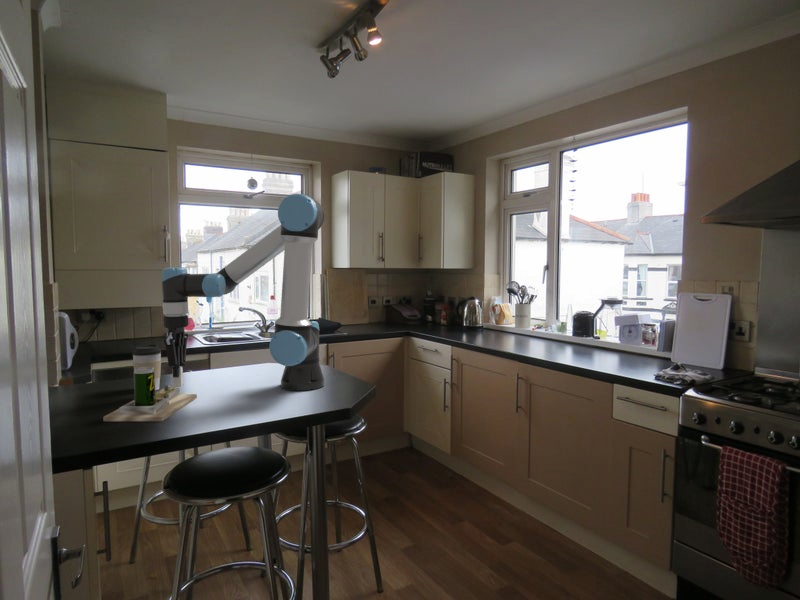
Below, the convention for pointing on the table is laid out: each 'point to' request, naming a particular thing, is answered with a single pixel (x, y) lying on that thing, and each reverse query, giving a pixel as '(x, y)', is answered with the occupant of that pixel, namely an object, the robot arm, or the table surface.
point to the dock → (152, 408)
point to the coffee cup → (148, 360)
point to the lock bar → (164, 391)
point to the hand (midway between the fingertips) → (177, 386)
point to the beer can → (144, 386)
